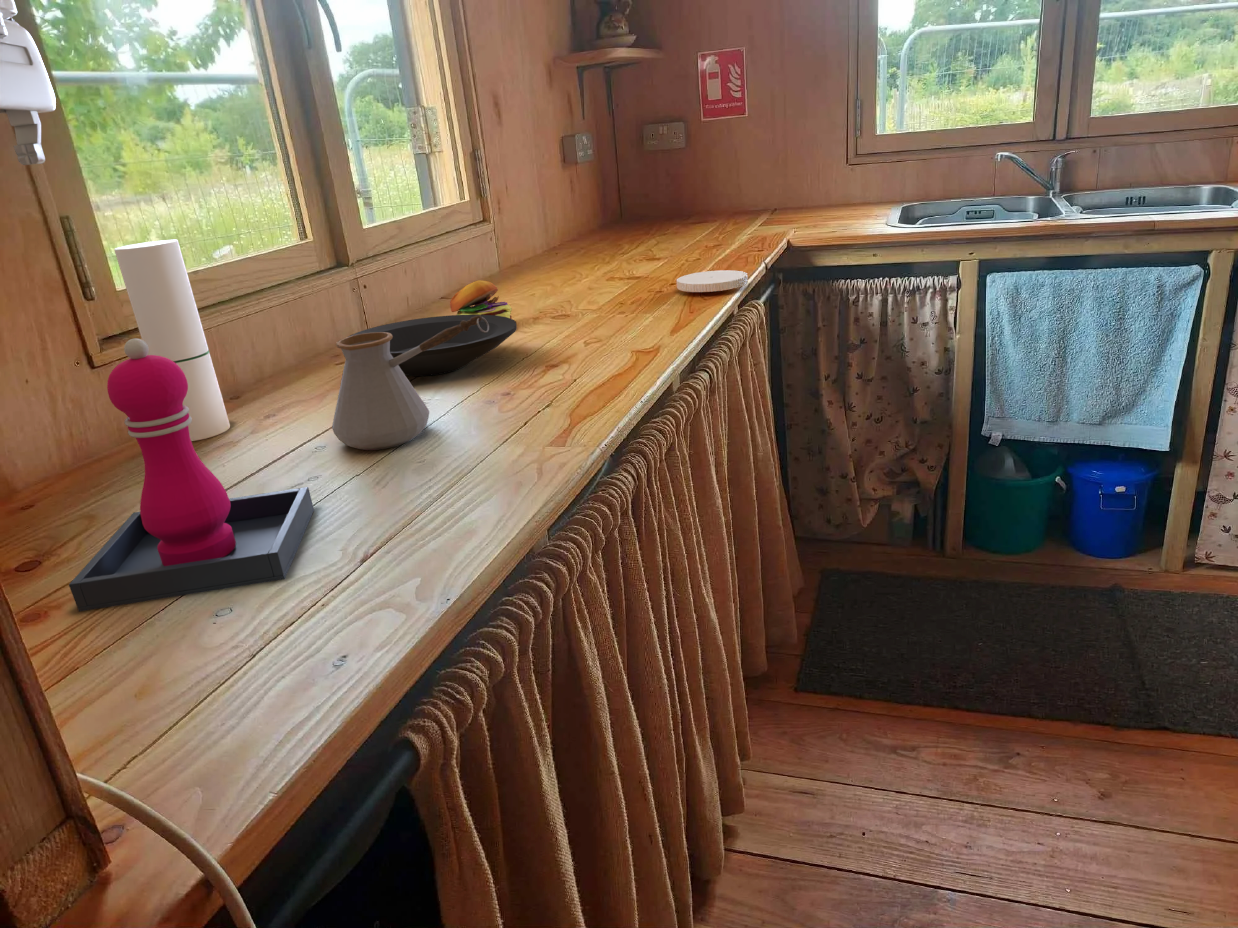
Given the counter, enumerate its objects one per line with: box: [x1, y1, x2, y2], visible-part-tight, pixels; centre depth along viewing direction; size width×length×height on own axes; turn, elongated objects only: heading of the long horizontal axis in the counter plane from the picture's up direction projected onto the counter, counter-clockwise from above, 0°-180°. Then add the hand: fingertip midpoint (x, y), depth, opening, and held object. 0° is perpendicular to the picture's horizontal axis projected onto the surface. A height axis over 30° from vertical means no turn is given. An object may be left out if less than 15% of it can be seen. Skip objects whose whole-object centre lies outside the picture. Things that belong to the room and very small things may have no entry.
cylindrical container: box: [113, 239, 231, 442], centre depth 112 cm, size 7×7×25 cm
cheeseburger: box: [449, 279, 513, 319], centre depth 159 cm, size 10×11×10 cm
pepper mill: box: [106, 337, 236, 566], centre depth 76 cm, size 7×7×20 cm
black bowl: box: [345, 314, 518, 377], centre depth 137 cm, size 28×24×6 cm
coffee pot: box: [331, 315, 489, 451], centre depth 102 cm, size 21×12×15 cm, turn 76°
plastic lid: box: [675, 269, 748, 293], centre depth 173 cm, size 14×14×2 cm
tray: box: [68, 486, 315, 612], centre depth 79 cm, size 17×15×3 cm
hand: (9, 166), depth 78 cm, fingers open, 8 cm apart
